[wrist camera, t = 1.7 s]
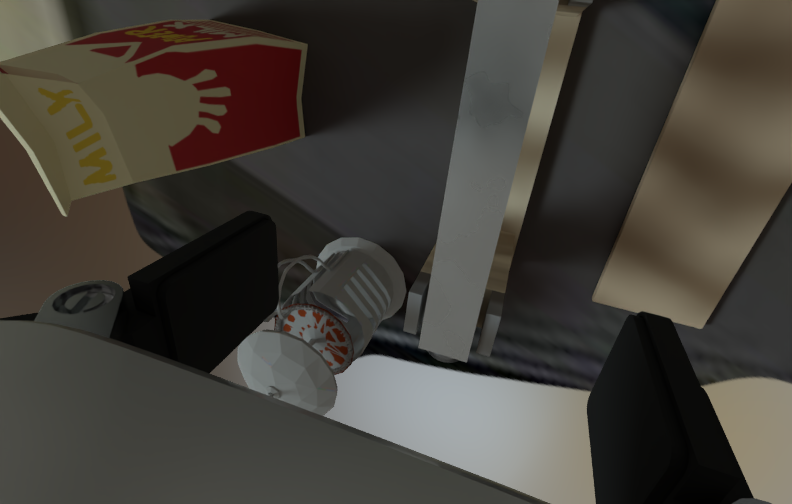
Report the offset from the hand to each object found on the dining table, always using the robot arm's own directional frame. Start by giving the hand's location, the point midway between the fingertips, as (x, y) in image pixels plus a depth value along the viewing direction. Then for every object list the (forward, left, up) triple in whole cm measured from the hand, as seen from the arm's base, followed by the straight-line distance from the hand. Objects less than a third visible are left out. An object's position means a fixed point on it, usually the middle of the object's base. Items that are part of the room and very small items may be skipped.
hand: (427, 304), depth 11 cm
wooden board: (0, +14, -23) cm, 27 cm away
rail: (0, 0, -13) cm, 13 cm away
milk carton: (0, -21, -23) cm, 31 cm away
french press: (+16, -11, -23) cm, 30 cm away
